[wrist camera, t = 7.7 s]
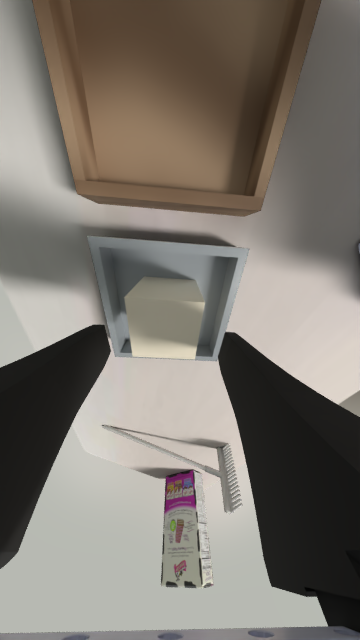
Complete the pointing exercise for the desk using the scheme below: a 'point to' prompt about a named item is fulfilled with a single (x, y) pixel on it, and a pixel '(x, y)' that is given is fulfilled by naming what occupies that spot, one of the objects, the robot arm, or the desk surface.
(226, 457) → the brush
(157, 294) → the sandstone block
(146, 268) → the grey tray
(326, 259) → the desk surface
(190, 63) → the walnut tray
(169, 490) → the candy bar box
